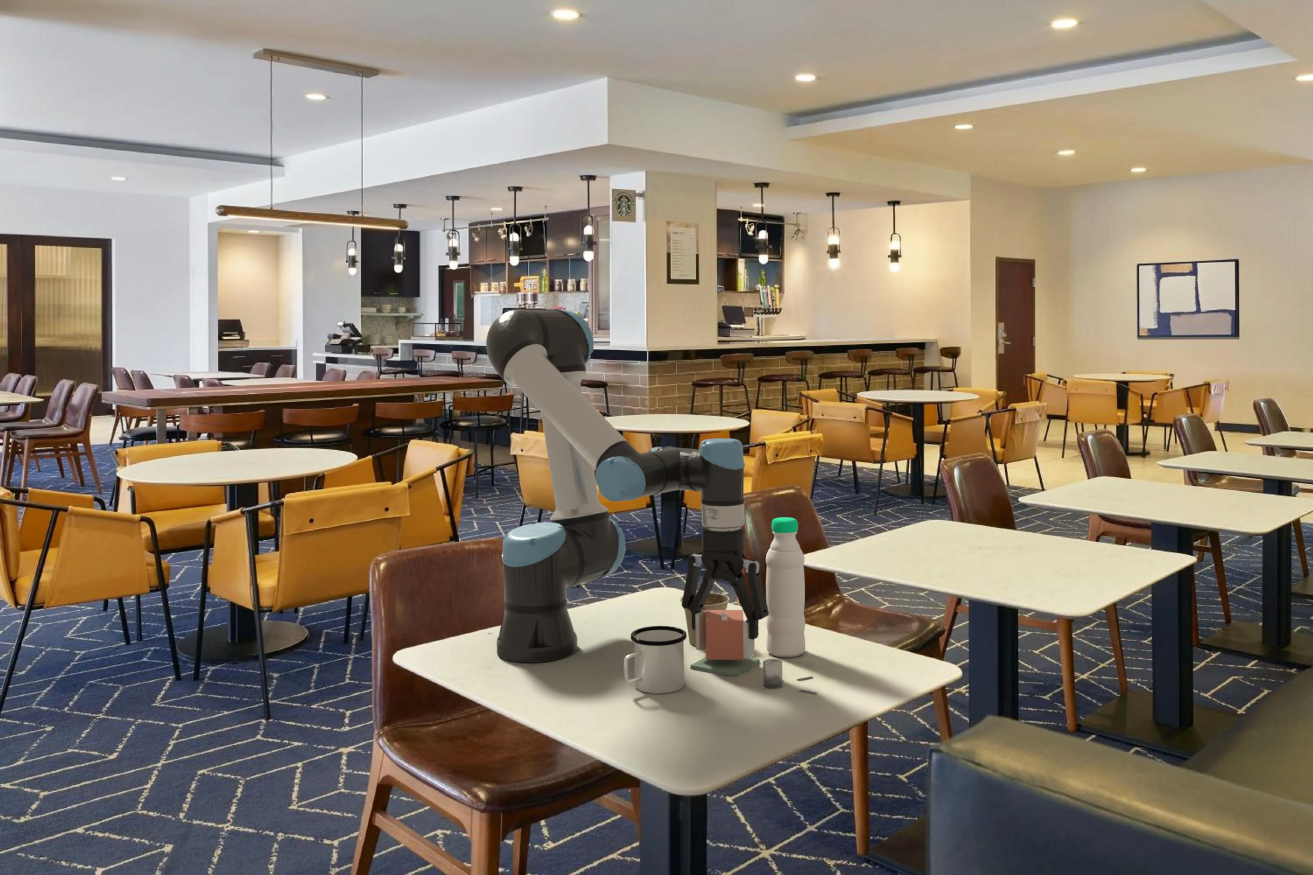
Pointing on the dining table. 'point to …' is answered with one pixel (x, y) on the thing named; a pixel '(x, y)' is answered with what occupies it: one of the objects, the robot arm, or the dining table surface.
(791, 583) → the water bottle
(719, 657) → the orange box with tab
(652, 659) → the mug
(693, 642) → the flower pot
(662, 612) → the dining table surface
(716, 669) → the pad
